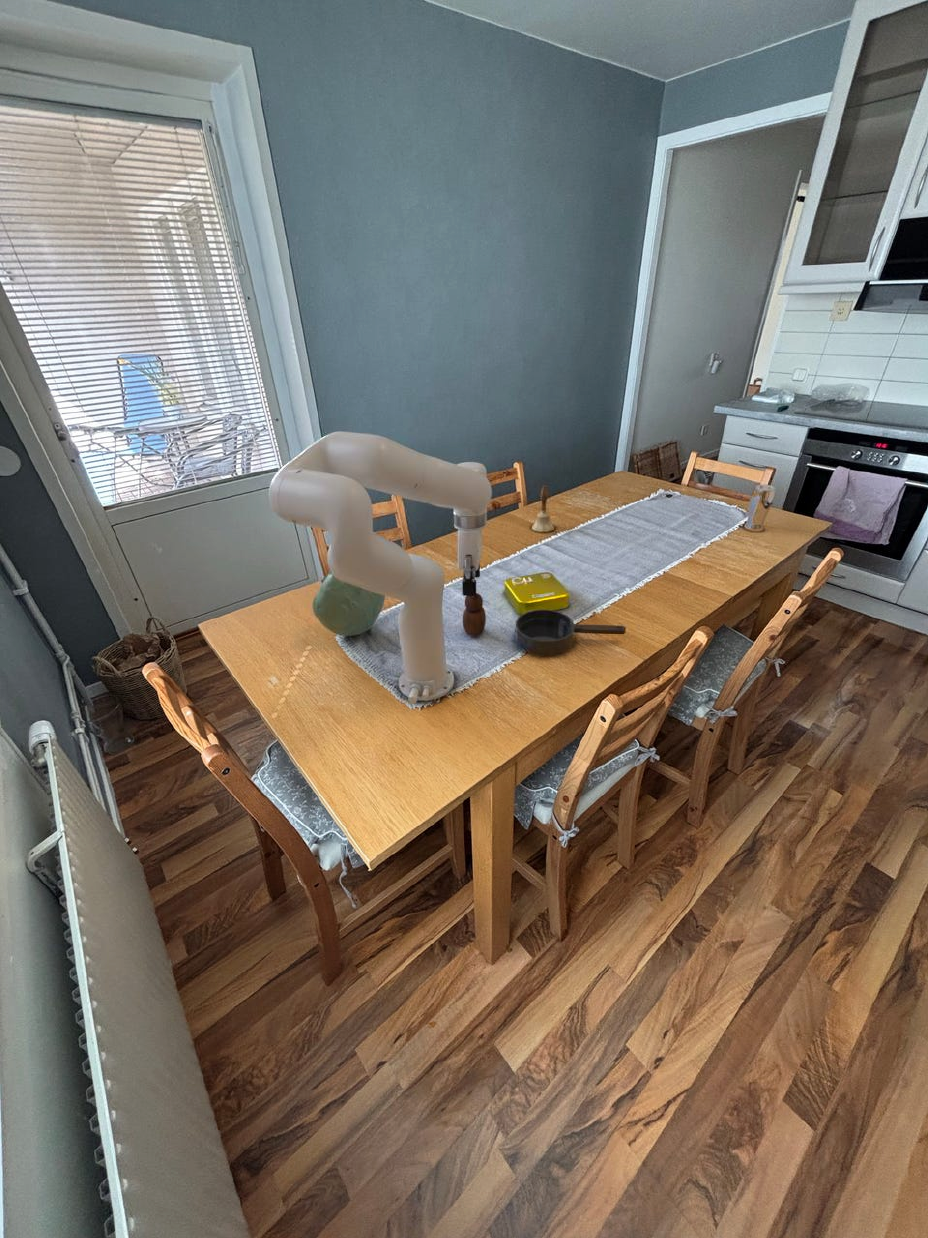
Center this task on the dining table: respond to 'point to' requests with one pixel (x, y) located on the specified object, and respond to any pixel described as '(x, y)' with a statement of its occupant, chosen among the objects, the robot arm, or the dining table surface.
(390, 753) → the dining table surface
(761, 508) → the beer glass
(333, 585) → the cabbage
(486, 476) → the robot arm
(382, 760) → the dining table surface
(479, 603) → the wooden figurine
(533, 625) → the pan
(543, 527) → the hand bell
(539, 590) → the element tile
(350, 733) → the dining table surface
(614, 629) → the pan handle
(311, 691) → the dining table surface
